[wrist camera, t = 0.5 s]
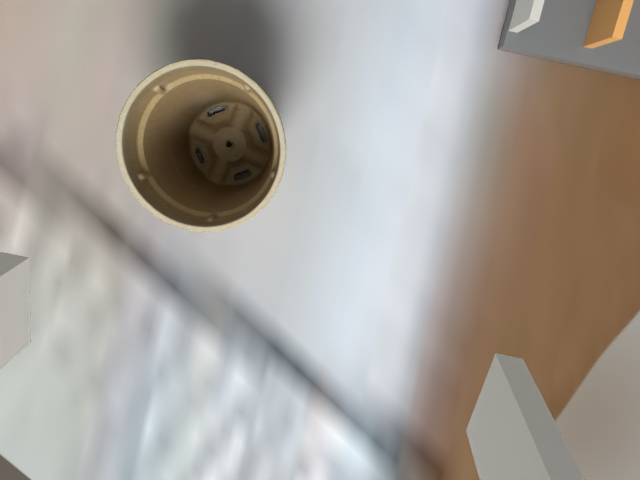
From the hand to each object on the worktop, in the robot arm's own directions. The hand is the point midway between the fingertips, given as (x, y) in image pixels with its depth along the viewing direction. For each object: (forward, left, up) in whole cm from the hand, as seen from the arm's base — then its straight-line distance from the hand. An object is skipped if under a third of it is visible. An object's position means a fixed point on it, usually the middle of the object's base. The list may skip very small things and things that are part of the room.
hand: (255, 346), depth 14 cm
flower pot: (-4, -6, -24) cm, 25 cm away
